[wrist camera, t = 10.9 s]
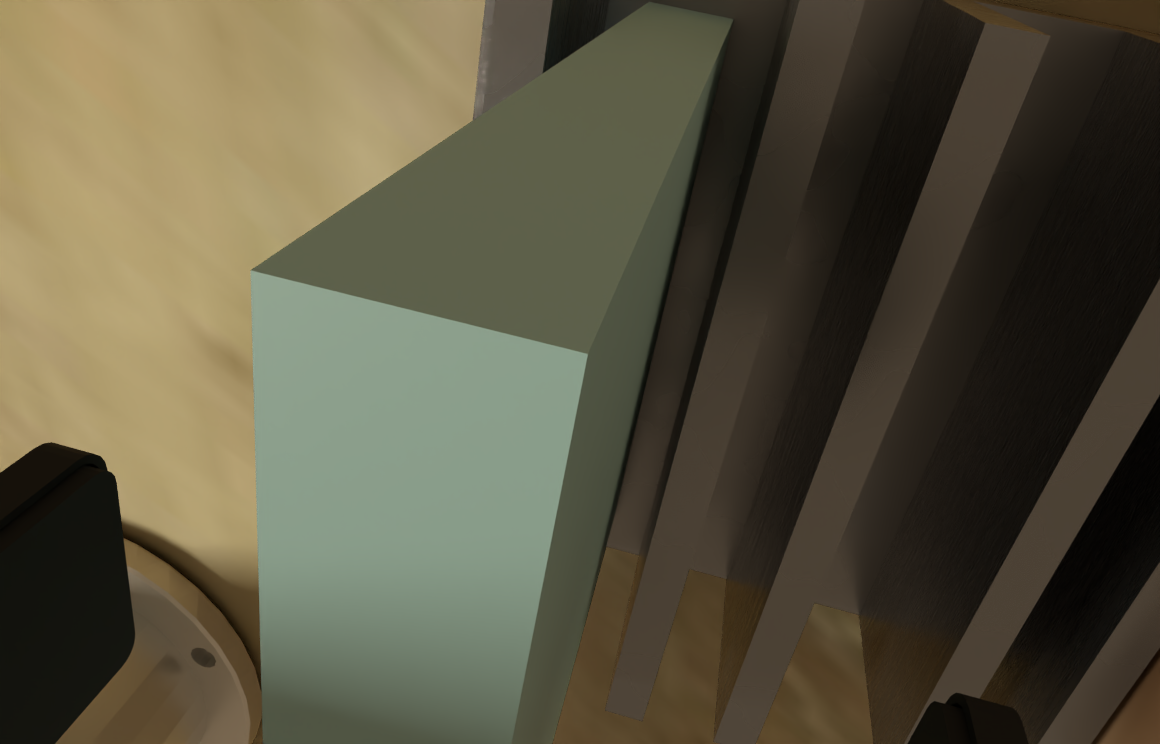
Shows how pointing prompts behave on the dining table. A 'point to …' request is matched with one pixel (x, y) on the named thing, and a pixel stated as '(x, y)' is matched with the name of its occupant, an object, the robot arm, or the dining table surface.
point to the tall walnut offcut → (1136, 711)
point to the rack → (901, 355)
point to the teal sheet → (469, 399)
